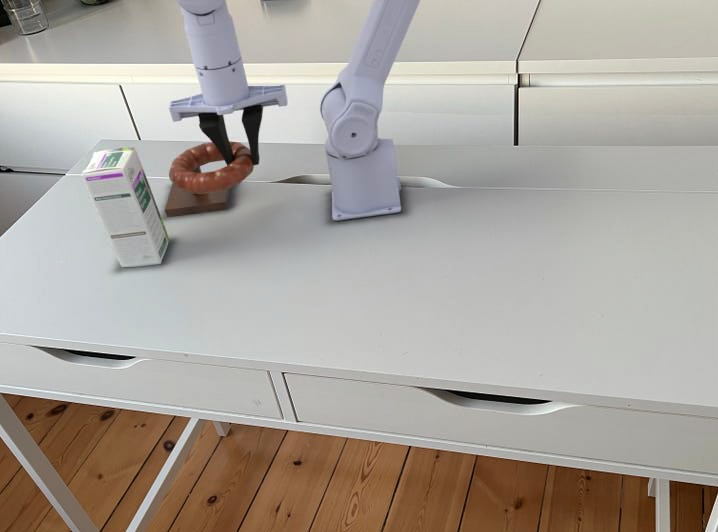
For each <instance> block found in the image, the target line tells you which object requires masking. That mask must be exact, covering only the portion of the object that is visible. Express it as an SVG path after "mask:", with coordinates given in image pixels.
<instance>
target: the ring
mask: <svg viewBox="0 0 718 532" xmlns="http://www.w3.org/2000/svg"><path fill="white" fill-rule="evenodd" d="M229 142H230V145H231V148H232V151H233V155H234V161H233V162H232V163H231V164H229V165H228V166H227V165H226V166H223V167H220V168H219V169H216V170H213V171H212V170H211V171H206V172H202V173H195V172H192V171H193V170H195V169H196V168H197V167H200V168H201V167H202V166H205V165H207V164H210V163H215V162H222V161H225V160H224V158H223V157H222V155H221V153H220V152H219V150H218V149H217V147H216V146H215V145H214V144H213V142H212V141H209V142H204V143H201V144H198V145H195V146H193V147H190V148H188V149H186V150H184V151H183V152H182V153H180V154H179V155H178V156H176V157H175V158H174V159H173V161H172V162H171V165H170V169H169V171H168V178H169V181H170V182H171V183H172V184H174V185H175V186H176V187H177V188H179V189H180V190H181V191H184V192H190V193H195V194H206V193H213V192H220V191H223V190H225V189H228V188H230V187H231V188H232V187H235V186H237V185H240V184H241V183H242V182H243V181H245V179H247V178H248V177H249V176H250V175H251V174H252V173H253V171H254V168H255V167H254V166H255V165H253V162H252V158H251V152H250V147H248V146H246V145H245V144H243V143H241V142H239V141H231V140H229Z"/></svg>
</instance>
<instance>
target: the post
mask: <svg viewBox="0 0 718 532" xmlns="http://www.w3.org/2000/svg"><path fill="white" fill-rule="evenodd" d="M192 172H195V173H203V172H202V168H201V166H200V167H197V168H196V169H195V170H193V171H192ZM170 187H171V188H170V190H169V194H168V198H167V201H166V204H165V207H164V212H165V213H164V214H165V216H166V217H167V218H169V217H170V218H171V217H177V216H184V215H185V216H186V215H191V214H192V215H193V214H199V213H207V212H208V213H209V212H214V211H222V210H228V206H229V201H230V196H231V190H232V187H230V188H228V189H225V190H223V191H220V192H213V193H206V194H195V193H190V192H184V191H181V190H180V189H179V188H177V187H176V186H175V185H174V184H173V183H172V184H171V186H170Z"/></svg>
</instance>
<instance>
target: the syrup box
mask: <svg viewBox="0 0 718 532" xmlns="http://www.w3.org/2000/svg"><path fill="white" fill-rule="evenodd" d="M140 159H141V158H140V156H139V154H138V151H137V149H136V148H135V147H116V148H110V149H104V150H99V151H94V152H93V154H92V156H91V158H90V160H89V161H88V163H87V164H86V166H85V168H84V169H83V171H82V173H81V175H80V176H81V177H82V180H83V183H84V184H85V187H86V189H87V191H88V194H89V196H90V198H91V201H92V204H93V205H94V208H95V210H96V212H97V215H98V217H99V219H100V221H101V224H102V226H103V229H104V231H105V233H106V236H107V238H108V240H109V242H110V244H111V247H112V249H113V251H114V253H115V256H116V258H117V260H118V263H119V265H120V267H121V268H136V267H146V266H154V265H161V264H162V262H163V259H164V256H165V254H166V251H167V249H168V246H169V243H170V237H169V234H168V232H167V229H166V226H165V223H164V221H163V219H162V215H161V212H160V210H159V208H158V205H157V202H156V200H155V196H154V194H153V191H152V188H151V186H150V184H149V180H148V178H147V176H146V171H144V167H143V165H142V162H141V160H140Z"/></svg>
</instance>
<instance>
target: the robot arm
mask: <svg viewBox="0 0 718 532" xmlns="http://www.w3.org/2000/svg"><path fill="white" fill-rule="evenodd" d="M175 1H176V2H177V3H178V5H179V6H180V9H179V10H180V15H181V18H182V20H183V22H184V26H183V28H184V32H185V37H186V39H187V44H188V47H189V50H190V55H191V58H192V62H193V66H194V68H195V72H196V76H197V79H198V83H199V88H200V91H201V93H199V94H194V95H191V96H188V97H185V98H180V99H175V100H174V99H173V100H170V103H169V106H168V110H169V113H170V116H171V120H172V122H173V123H174V122H175V123H176V122H180V121H182V120H183V119H189V118H195V117H198V121H199V124H198V127H199V129H200V130H201V132H202V133H203V134H204V135H205V136H206V137H207V138H208V139H209V141H210V142H213V144H214V145H215V146H216V147H217V149H218V150H219V152H220V153H221V155H222V157H223V158H224V160H223V161H224V162H225V165H226V166H228V165H229V164H231V163H232V162H233V161H234V155H233V151H232V148H231V145H230V142H229V141H230V139H229V136H228V131H227V126H226V122H225V117H224V115H231V114H233V113H234V112H236V111H242V115H241V123H242V126H243V129H244V132H245V135H246V139H247V143H248V145H249V149H250V152H251V158H252V162H253V165H254V166H258V165H259V164H260V152H259V137H260V136H259V135H260V129H261V124H262V121H263V112H264V108H266V107H273V106H278V107H280V108H281V107H287V106H288V95H287V89H286V85H285V84H280V85H249V84H248V81H247V75H246V71H245V66H244V63H243V58H242V54H241V50H240V45H239V41H238V36H237V32H236V28H235V23H234V19H233V17H232V15H231V13H230V12H229V9H228V8H229V7H228V5H227V0H175ZM420 2H421V0H372V2H371V6H370V8H369V10H368V12H367V15H366V18H365V20H364V22H363V25H362V28H361V31H360V33H359V36H358V39H357V40H356V44H355V45H354V49H353V51H352V53H351V56H350V59H349V61H348V64H347V65H346V66H345V67H344V68H342V69H341V70H340V71H339V73H338V75H337V78H336V80H335V82H334V83H333V85H332V86H331V87H330V88H329V89H328V90H326V91H325V92H324V94H323V96H322V97H321V99H320V104H319V113H320V116H321V118H322V120H323V121H324V124H325V127H326V130H327V138H326V140H325V143H324V149H325V150H324V151H325V156H326V162H327V167H328V174H329V178H330V185H331V189H332V191H331V218H332V220H333V221H334V222H335V221H336V222H337V221H343V220H351V219H360V218H365V217H366V218H367V217H373V216H374V217H375V216H382V215H389V214H397V213H401V211H402V206H401V205H402V204H401V197H400V191H402V186H401V185H402V184H401V178H400V176H398V169H397V161H396V153H395V145H394V139H393V138H382V137H379V135H378V134H379V128H378V127H379V126H378V122H379V118H380V114H381V113H382V110H383V103H384V101H383V100H384V88H385V85H386V82H387V80H388V77H389V75H390V72H391V70H392V68H393V66H394V63H395V61H396V58H397V56H398V54H399V51H400V49H401V47H402V44H403V42H404V39H405V37H406V34H407V32H408V30H409V28H410V25H411V23H412V21H413V19H414V16H415V13H416V11H417V9H418V6H419V5H420Z"/></svg>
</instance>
